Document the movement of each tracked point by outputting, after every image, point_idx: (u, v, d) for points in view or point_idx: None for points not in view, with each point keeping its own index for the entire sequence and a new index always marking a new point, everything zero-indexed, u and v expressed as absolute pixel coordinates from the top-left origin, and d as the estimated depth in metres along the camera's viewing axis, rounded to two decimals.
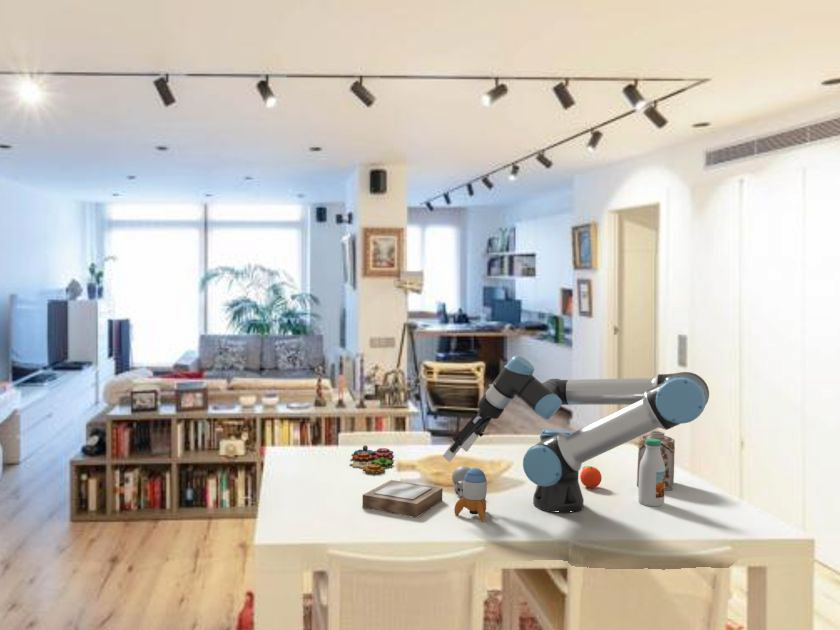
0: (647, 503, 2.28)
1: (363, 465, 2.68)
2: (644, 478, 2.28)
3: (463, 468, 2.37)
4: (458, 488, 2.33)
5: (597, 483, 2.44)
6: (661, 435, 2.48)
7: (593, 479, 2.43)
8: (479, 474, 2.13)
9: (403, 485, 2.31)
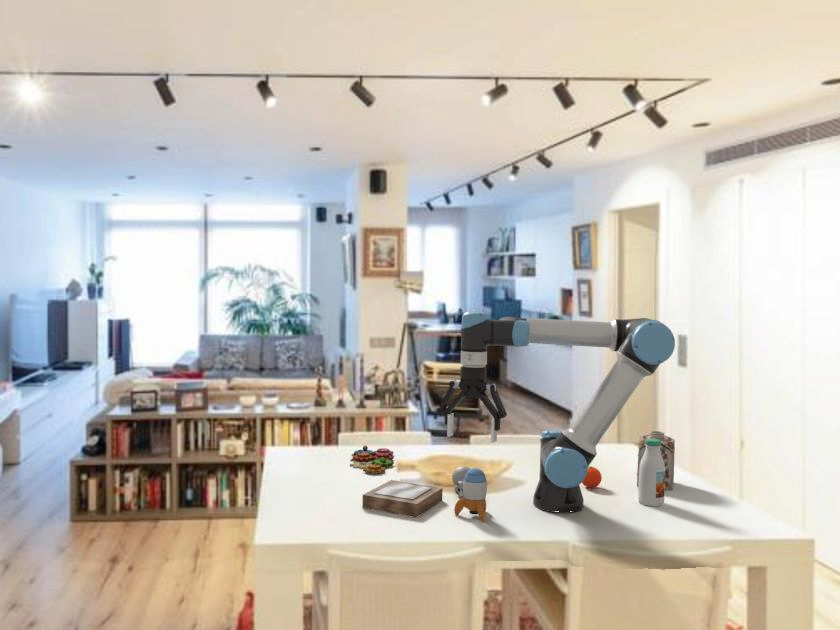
0: (647, 503, 2.28)
1: (363, 465, 2.68)
2: (644, 478, 2.28)
3: (463, 468, 2.37)
4: (458, 488, 2.33)
5: (597, 483, 2.44)
6: (661, 435, 2.48)
7: (593, 479, 2.43)
8: (479, 474, 2.13)
9: (403, 485, 2.31)
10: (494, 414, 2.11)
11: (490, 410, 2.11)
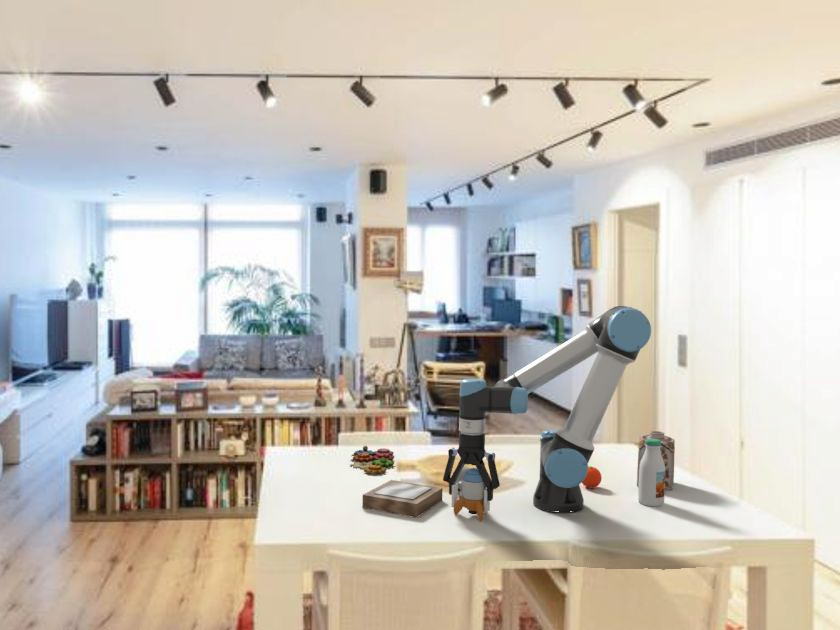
0: (647, 503, 2.28)
1: (364, 466, 2.68)
2: (644, 478, 2.28)
3: (463, 468, 2.36)
4: (458, 488, 2.32)
5: (597, 483, 2.44)
6: (661, 435, 2.48)
7: (593, 479, 2.43)
8: (478, 474, 2.13)
9: (403, 485, 2.31)
10: (487, 484, 2.12)
11: (484, 480, 2.13)
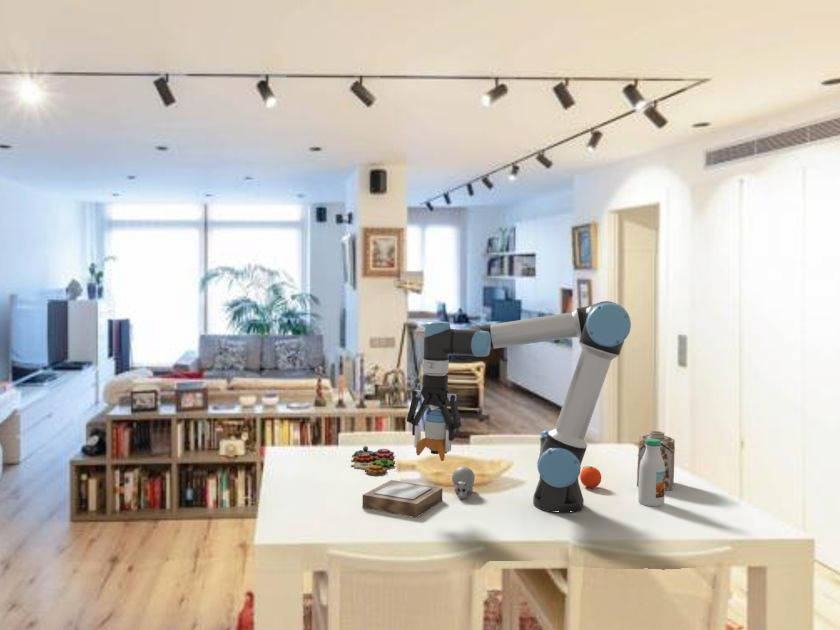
0: (647, 503, 2.28)
1: (364, 466, 2.67)
2: (644, 478, 2.28)
3: (463, 468, 2.36)
4: (458, 489, 2.32)
5: (597, 483, 2.44)
6: (661, 435, 2.48)
7: (593, 479, 2.43)
8: (440, 414, 2.18)
9: (403, 485, 2.31)
10: (449, 424, 2.17)
11: (446, 420, 2.17)
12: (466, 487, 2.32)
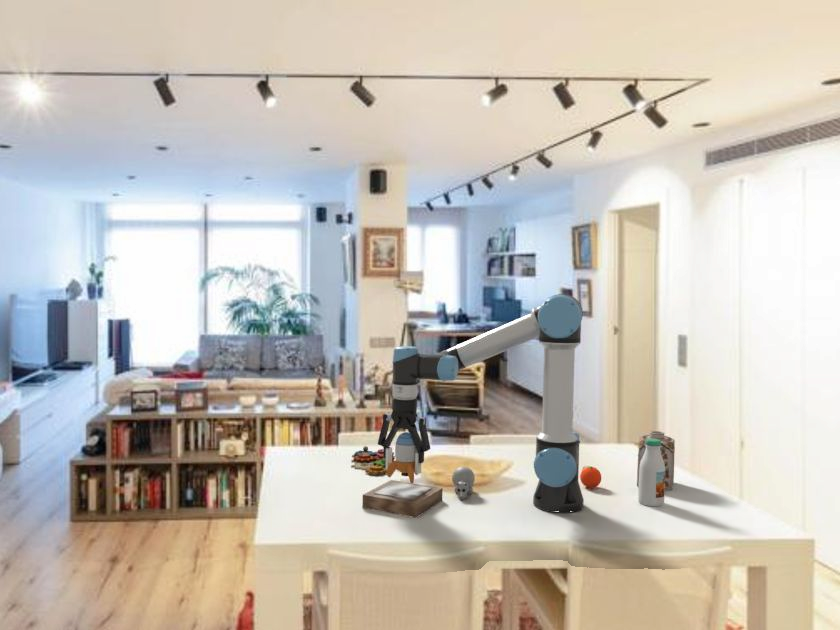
0: (647, 503, 2.28)
1: (365, 466, 2.67)
2: (644, 478, 2.28)
3: (463, 469, 2.36)
4: (458, 489, 2.32)
5: (597, 483, 2.44)
6: (661, 435, 2.48)
7: (593, 479, 2.43)
8: (410, 437, 2.23)
9: (403, 485, 2.31)
10: (418, 447, 2.22)
11: (415, 443, 2.22)
12: (466, 487, 2.32)
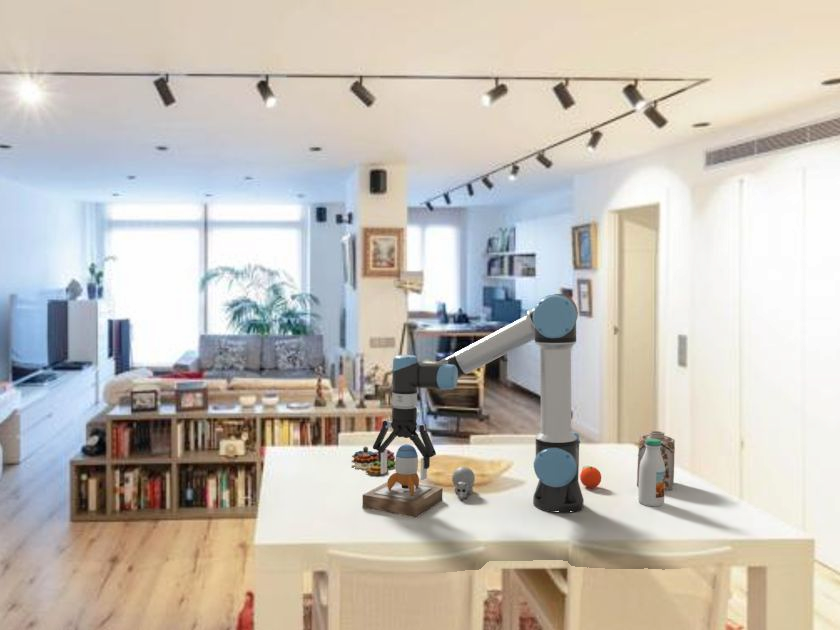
0: (647, 503, 2.28)
1: (365, 466, 2.66)
2: (644, 478, 2.28)
3: (463, 469, 2.36)
4: (458, 489, 2.32)
5: (597, 483, 2.44)
6: (661, 435, 2.48)
7: (593, 479, 2.43)
8: (410, 450, 2.23)
9: None
10: (423, 453, 2.21)
11: (420, 449, 2.21)
12: (466, 487, 2.32)
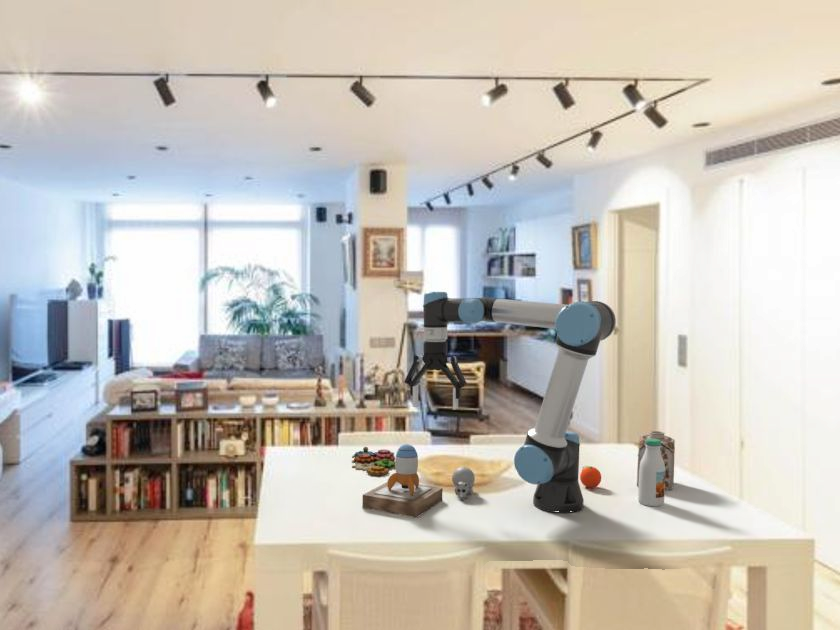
0: (647, 503, 2.28)
1: (366, 467, 2.66)
2: (644, 478, 2.28)
3: (463, 469, 2.36)
4: (458, 489, 2.32)
5: (597, 483, 2.44)
6: (661, 435, 2.48)
7: (593, 479, 2.43)
8: (410, 450, 2.23)
9: None
10: (455, 384, 2.31)
11: (451, 380, 2.32)
12: (466, 487, 2.31)
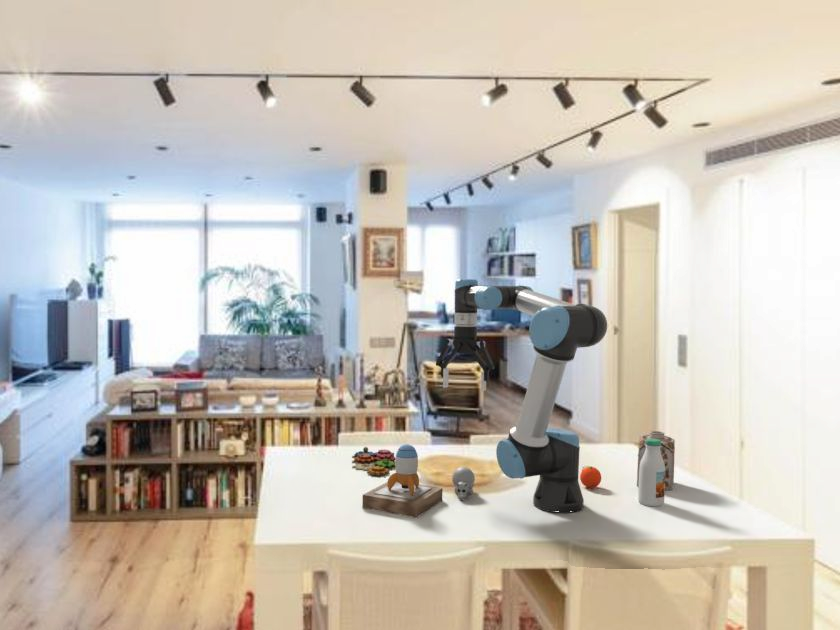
0: (647, 503, 2.28)
1: (366, 467, 2.66)
2: (644, 478, 2.28)
3: (463, 469, 2.36)
4: (458, 489, 2.31)
5: (597, 483, 2.44)
6: (661, 435, 2.48)
7: (593, 479, 2.43)
8: (410, 450, 2.23)
9: None
10: (483, 367, 2.44)
11: (480, 363, 2.44)
12: (466, 488, 2.31)
